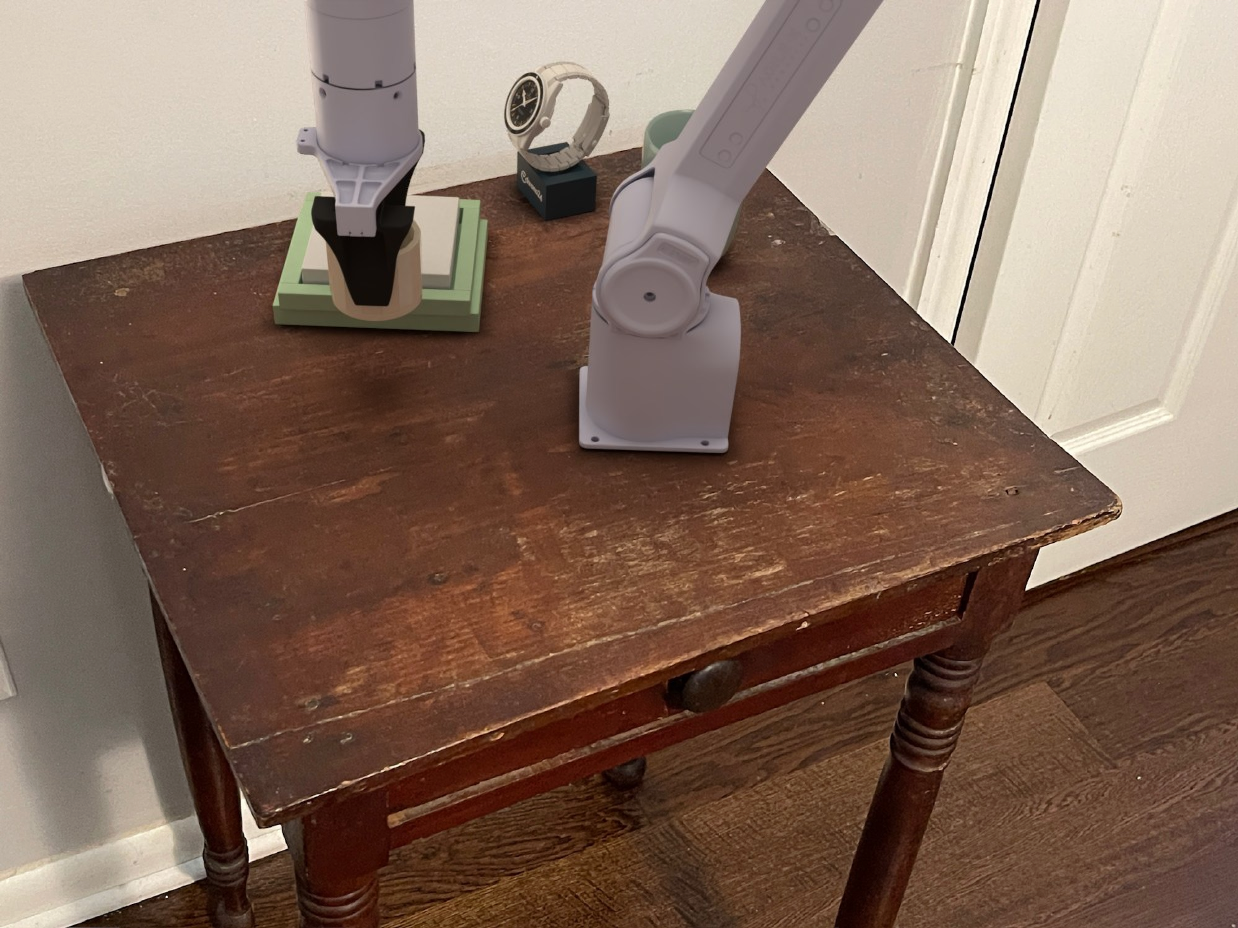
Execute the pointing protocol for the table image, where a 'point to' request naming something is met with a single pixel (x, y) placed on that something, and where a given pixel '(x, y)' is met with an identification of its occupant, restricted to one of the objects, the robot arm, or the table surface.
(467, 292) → the scale
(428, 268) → the pan
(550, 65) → the watch
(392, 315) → the cylindrical container
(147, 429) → the table surface
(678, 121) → the cup
